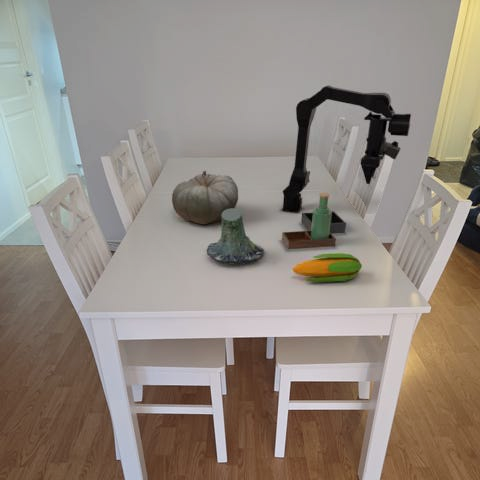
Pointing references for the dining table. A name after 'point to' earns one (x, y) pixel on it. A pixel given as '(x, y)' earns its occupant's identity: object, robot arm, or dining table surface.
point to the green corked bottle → (321, 219)
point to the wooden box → (305, 240)
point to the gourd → (205, 197)
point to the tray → (335, 227)
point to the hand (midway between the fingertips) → (370, 180)
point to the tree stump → (234, 241)
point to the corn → (329, 267)
